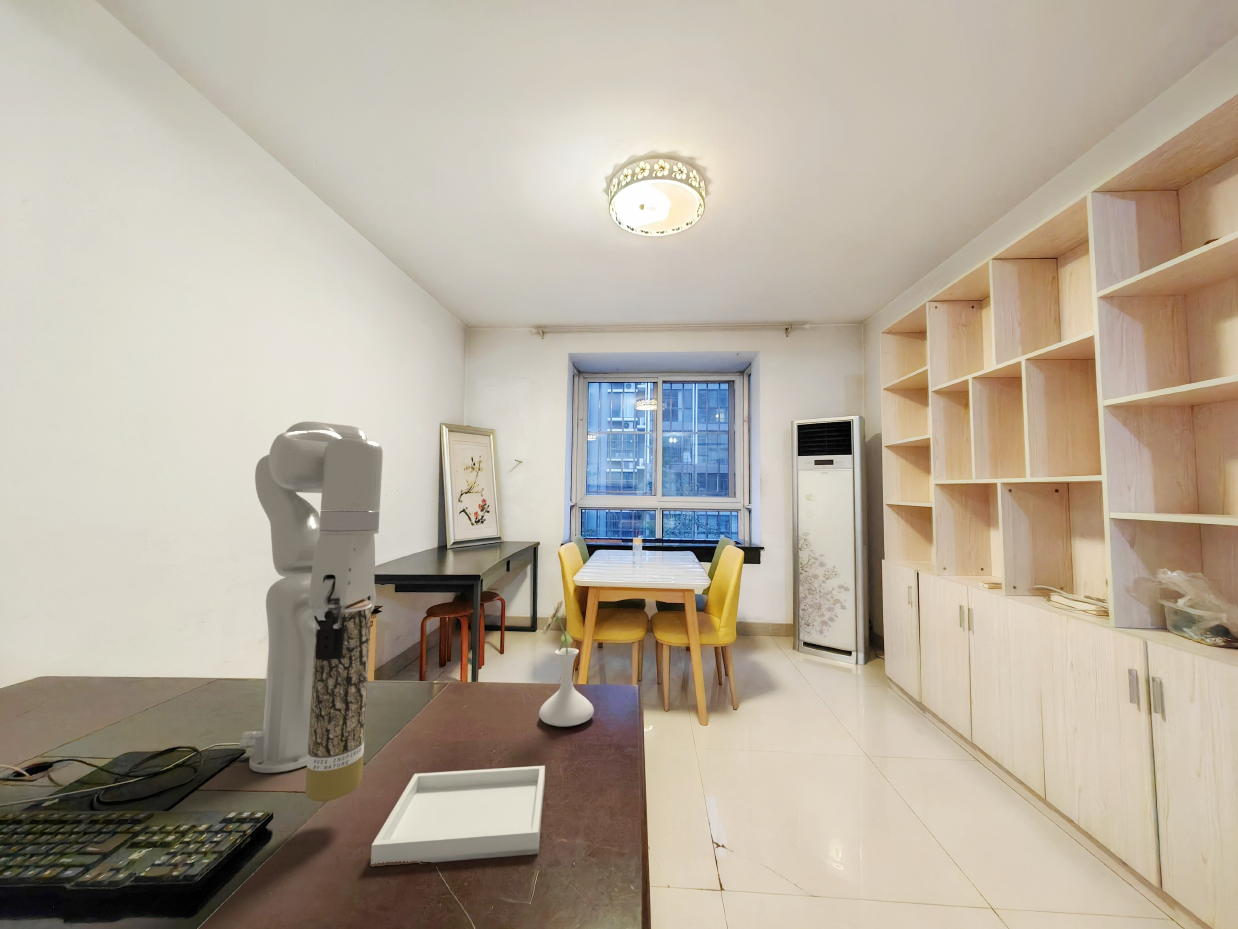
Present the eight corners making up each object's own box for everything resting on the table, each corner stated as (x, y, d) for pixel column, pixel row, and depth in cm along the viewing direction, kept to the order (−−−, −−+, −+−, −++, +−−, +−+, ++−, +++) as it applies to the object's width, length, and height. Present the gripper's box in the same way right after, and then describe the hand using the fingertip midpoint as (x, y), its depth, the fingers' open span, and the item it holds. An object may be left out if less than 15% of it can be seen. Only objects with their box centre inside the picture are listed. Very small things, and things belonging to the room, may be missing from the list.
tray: (370, 867, 57) (371, 845, 57) (413, 791, 73) (414, 773, 73) (538, 853, 59) (538, 832, 59) (544, 782, 75) (544, 765, 75)
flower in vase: (553, 706, 105) (554, 591, 107) (601, 712, 101) (601, 593, 104) (524, 732, 92) (526, 601, 95) (578, 740, 89) (578, 604, 92)
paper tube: (372, 782, 67) (382, 602, 69) (325, 810, 60) (337, 611, 63) (341, 771, 69) (351, 598, 72) (293, 796, 63) (306, 606, 66)
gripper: (350, 522, 77) (343, 634, 75) (287, 525, 59) (276, 672, 58) (398, 522, 77) (392, 633, 76) (349, 525, 60) (340, 670, 58)
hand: (342, 649), depth 67 cm, fingers closed on paper tube, 6 cm apart
